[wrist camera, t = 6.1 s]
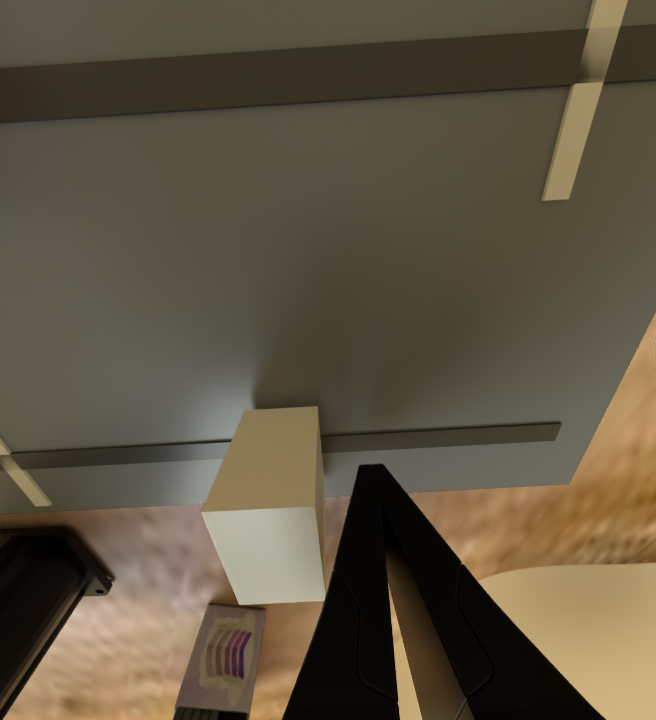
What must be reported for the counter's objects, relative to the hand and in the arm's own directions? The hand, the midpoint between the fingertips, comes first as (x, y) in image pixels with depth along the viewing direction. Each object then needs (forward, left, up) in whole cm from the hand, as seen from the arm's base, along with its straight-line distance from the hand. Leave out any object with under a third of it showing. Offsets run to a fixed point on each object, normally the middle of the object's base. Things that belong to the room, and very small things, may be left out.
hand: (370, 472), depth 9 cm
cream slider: (0, +3, -1) cm, 3 cm away
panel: (+5, +4, -3) cm, 8 cm away
